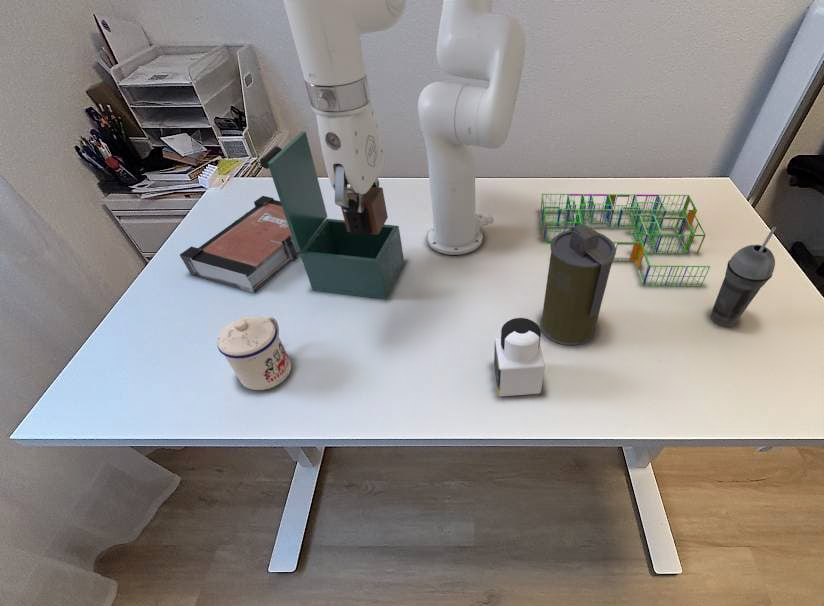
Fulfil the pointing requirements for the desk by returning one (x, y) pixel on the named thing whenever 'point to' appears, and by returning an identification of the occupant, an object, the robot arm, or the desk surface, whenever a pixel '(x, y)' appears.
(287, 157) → the lid
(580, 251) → the canister
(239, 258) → the book
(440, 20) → the robot arm
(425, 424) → the desk surface
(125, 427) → the desk surface
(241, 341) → the teacup with lid
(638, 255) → the house model
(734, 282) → the beverage cup
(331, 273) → the tin
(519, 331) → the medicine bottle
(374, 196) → the block
